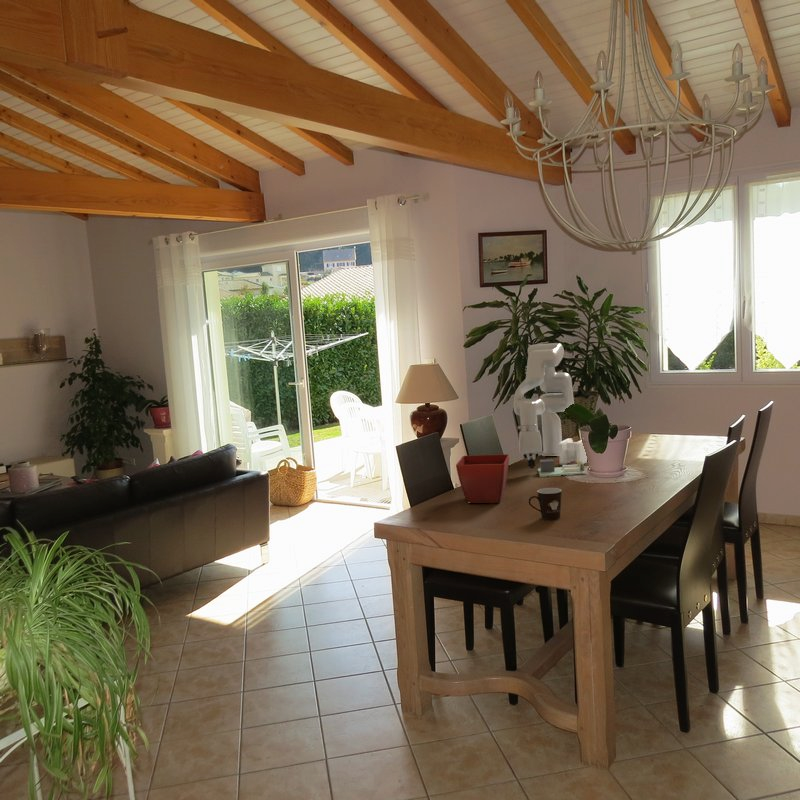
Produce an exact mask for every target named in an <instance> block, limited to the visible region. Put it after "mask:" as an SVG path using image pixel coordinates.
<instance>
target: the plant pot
mask: <svg viewBox="0 0 800 800" xmlns="http://www.w3.org/2000/svg"><path fill="white" fill-rule="evenodd" d="M509 459H510V454H506V453H505V454H504V453H503V454H476V455H475V454H474V455H473V454H472V455H469V454H468V455H463V456H462V457H460V459H459V460H458V462H457V463H456V464H455V468H456V473H457V476H458V480H459V484H460V488H461V490H462V492H463V496H464V498H465V500H466V502H467V503H468V502H470V503H498V504H500V503H501V501H502V499H503V497H504V493H505V488H506V484H507V478H508V470H509V463H510V461H509ZM499 502H500V503H499Z"/></svg>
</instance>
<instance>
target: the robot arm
mask: <svg viewBox="0 0 800 800" xmlns="http://www.w3.org/2000/svg"><path fill="white" fill-rule="evenodd" d="M564 354H565V349H564V345H562V344H561V343H559V342H553V343H537V344H531V345H530V346H528V348H527V355H528V356H527V364H526V372H525V373H526V375H525V379H524V380H523V381H522V382H521V383H520V384H519V385H518V387H517V389H516V390H515V392H514V398H513V412H514V414H515V415H517V416H519V417H520V425H517V430H520V431H519V434H518V435H519V436H518V448H519V451H518V452H519V453H518V456H520V457H524V458H525V459H526V460H527V465H528V467H529V469H534V467H536V461H535V460H536V458H537V457H538V456H539V457H540V456H541V455H542V457H545V456H557V457H559V448H558V445H559V443H560V442H562V441H563V437H562V435H563V434H562V422H561V421H562V420H561V418H560V416H559V415H558V414H557V413H560V412H561V413H562V412H563V413H565V412H564V411H565V409H566V408H568V407H569V406H570V405H572V404H574V405H575V398H574V391H573V380H572V377H571V374H569V373H567V372H557V371H556V369H555V367H557V366H559V365H560V363H561V361H562V360H563V358H564V356H565V355H564ZM537 387H539V389H540V390H541V391H542V392H544V394H541V395H540V396H539V398H523V397H524V395H525V394H526V393H527V392H528V391H531V390H533V389H535V388H537ZM538 416H541V428H542V429H541V430H542V436H541V432H540V430H539V429H538V428H539V426H538ZM530 454H531V455H532V457H530Z"/></svg>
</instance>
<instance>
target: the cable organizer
mask: <svg viewBox="0 0 800 800" xmlns="http://www.w3.org/2000/svg"><path fill="white" fill-rule="evenodd" d="M558 448H559V456H558V458H559V459H558V461H559V465H561V466H562V465H568V464H570V463H572V462H574V463H577V464H578V466H579V460H580V461H582V462H583V463H584V464H587V463H588V462H587V456H586V452H585V449H584V446H583V443H582V439H581V440H578V441H574V440H573V438H571V437H570V438H569V437H568V438H566V439H563V440H562V442H560V443H559V445H558Z"/></svg>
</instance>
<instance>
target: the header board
mask: <svg viewBox="0 0 800 800" xmlns="http://www.w3.org/2000/svg"><path fill="white" fill-rule="evenodd" d="M585 470H586V469H585V463H583V462H582V461H580V460H579V465H578V464H576V463H575V464H566V465H561V466H560V467H559V466H558V467H554V471H555V472H541V470H540V468H537V471H538V476H539V477H540V478H544V477H546V478H547V476H549V477H562V476H561V475H567V476H569V475H568V474H580V473H585V474H586V471H585Z"/></svg>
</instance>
